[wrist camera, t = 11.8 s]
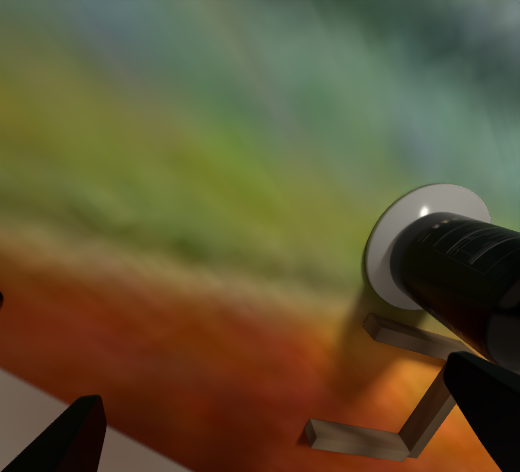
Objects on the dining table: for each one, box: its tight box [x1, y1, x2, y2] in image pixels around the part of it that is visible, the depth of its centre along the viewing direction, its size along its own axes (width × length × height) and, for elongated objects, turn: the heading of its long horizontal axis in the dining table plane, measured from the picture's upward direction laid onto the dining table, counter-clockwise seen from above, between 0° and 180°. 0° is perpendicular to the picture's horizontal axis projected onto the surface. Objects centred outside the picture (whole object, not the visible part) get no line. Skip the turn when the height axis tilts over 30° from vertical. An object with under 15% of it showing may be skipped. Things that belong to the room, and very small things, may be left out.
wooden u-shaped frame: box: [304, 314, 478, 462], centre depth 26 cm, size 11×12×2 cm
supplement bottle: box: [390, 212, 520, 375], centre depth 17 cm, size 7×7×12 cm
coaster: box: [365, 183, 491, 310], centre depth 22 cm, size 10×10×1 cm
